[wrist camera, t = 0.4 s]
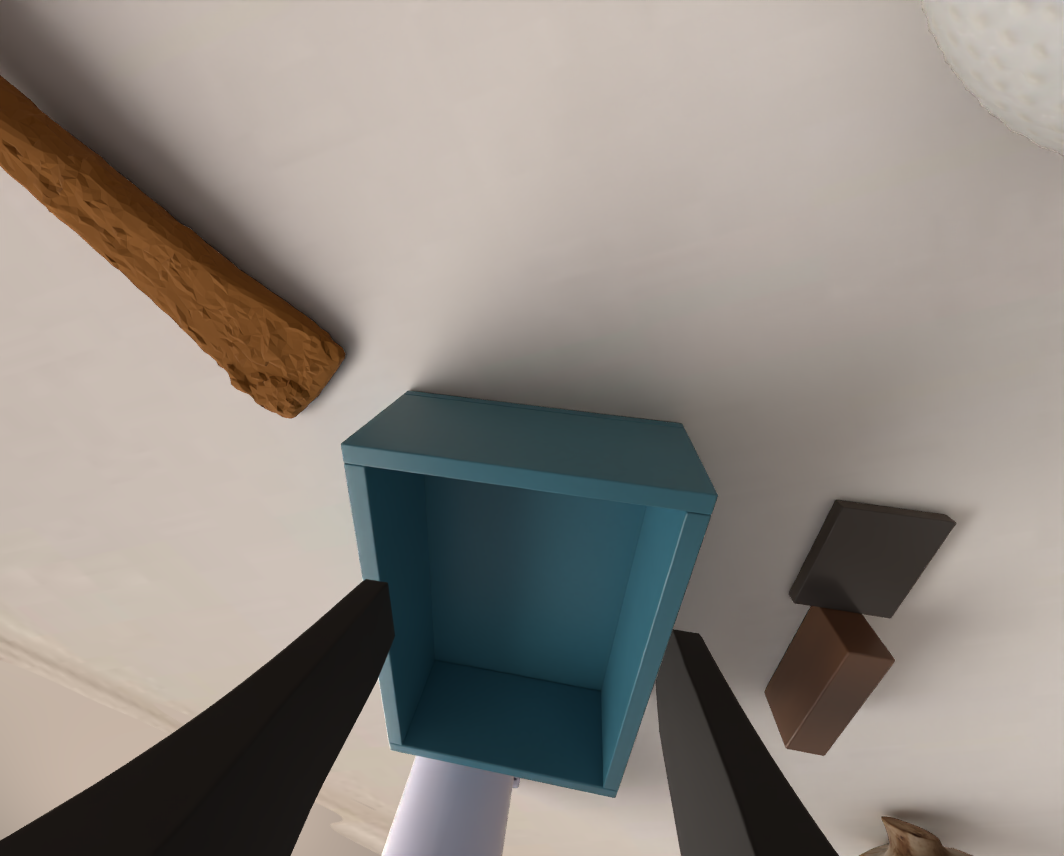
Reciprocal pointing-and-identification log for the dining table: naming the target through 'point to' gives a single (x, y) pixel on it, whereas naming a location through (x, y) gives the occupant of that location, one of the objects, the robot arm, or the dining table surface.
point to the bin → (525, 577)
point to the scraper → (847, 616)
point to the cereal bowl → (1008, 60)
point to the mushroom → (910, 842)
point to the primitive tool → (170, 263)
